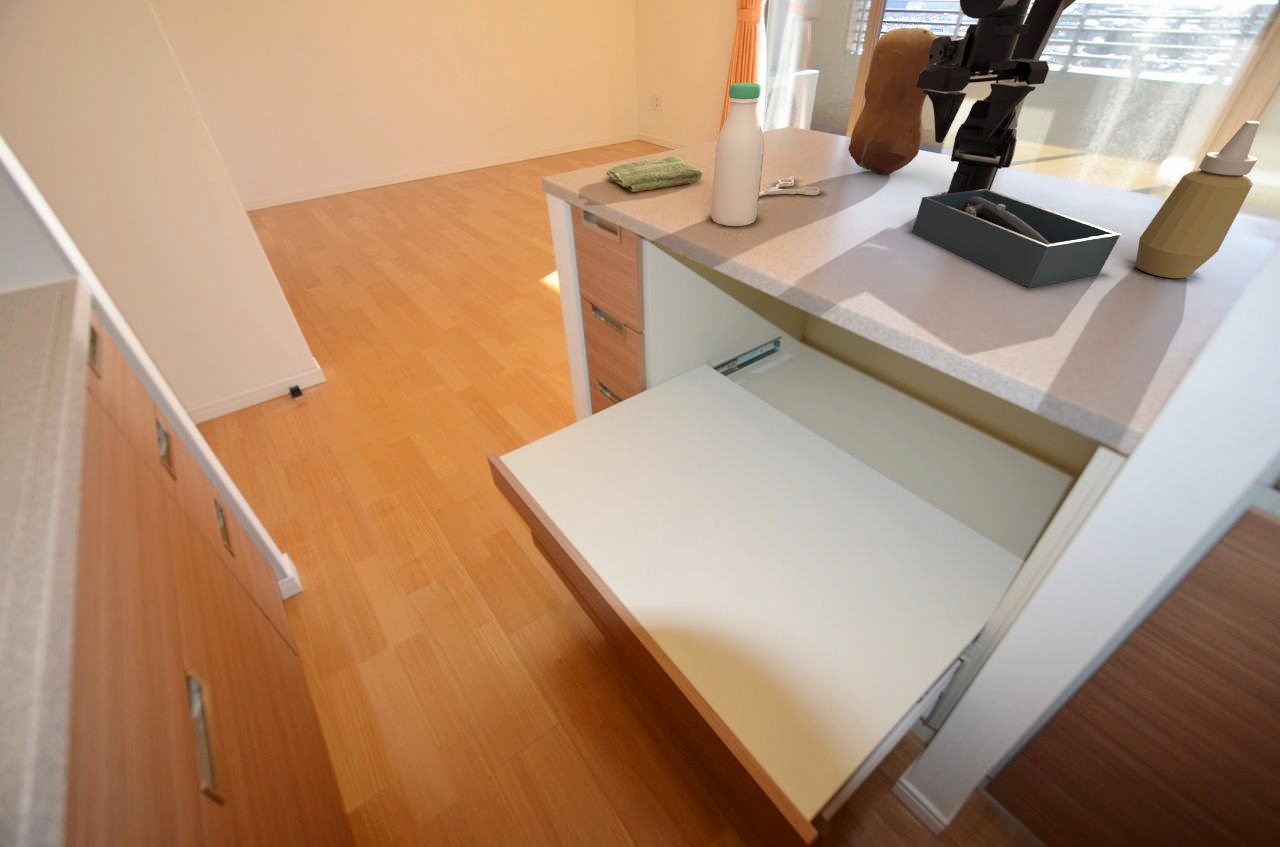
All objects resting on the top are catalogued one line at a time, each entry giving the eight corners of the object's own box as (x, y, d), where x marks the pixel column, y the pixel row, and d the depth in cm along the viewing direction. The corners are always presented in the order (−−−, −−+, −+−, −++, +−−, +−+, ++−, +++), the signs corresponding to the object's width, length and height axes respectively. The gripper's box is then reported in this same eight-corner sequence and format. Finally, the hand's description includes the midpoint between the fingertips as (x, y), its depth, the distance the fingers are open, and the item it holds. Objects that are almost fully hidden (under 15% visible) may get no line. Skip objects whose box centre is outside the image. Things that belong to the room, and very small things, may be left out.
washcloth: (603, 178, 115) (602, 162, 113) (678, 169, 120) (678, 153, 118) (625, 195, 105) (624, 177, 103) (705, 184, 110) (706, 167, 108)
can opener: (942, 229, 86) (954, 192, 82) (983, 227, 86) (997, 190, 83) (1012, 274, 72) (1030, 232, 69) (1061, 271, 73) (1082, 229, 69)
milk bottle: (755, 228, 89) (771, 87, 77) (708, 226, 91) (717, 87, 78) (756, 213, 95) (772, 80, 83) (713, 211, 96) (721, 80, 84)
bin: (972, 223, 89) (985, 188, 86) (1098, 274, 73) (1120, 234, 69) (911, 232, 86) (922, 197, 83) (1028, 288, 70) (1047, 246, 66)
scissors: (829, 188, 103) (745, 204, 96) (828, 192, 104) (744, 208, 97) (792, 176, 111) (711, 190, 104) (791, 180, 111) (711, 194, 104)
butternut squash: (892, 162, 121) (927, 24, 105) (924, 178, 111) (969, 27, 95) (833, 165, 120) (860, 26, 104) (860, 182, 109) (895, 30, 94)
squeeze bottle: (1110, 261, 76) (1189, 117, 65) (1164, 258, 77) (1251, 114, 65) (1158, 285, 70) (1254, 130, 59) (1216, 281, 70) (1322, 127, 59)
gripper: (1007, 11, 83) (970, 125, 93) (906, 16, 79) (879, 135, 88) (1073, 13, 75) (1025, 138, 84) (965, 18, 70) (927, 149, 80)
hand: (962, 139), depth 85 cm, fingers open, 9 cm apart
